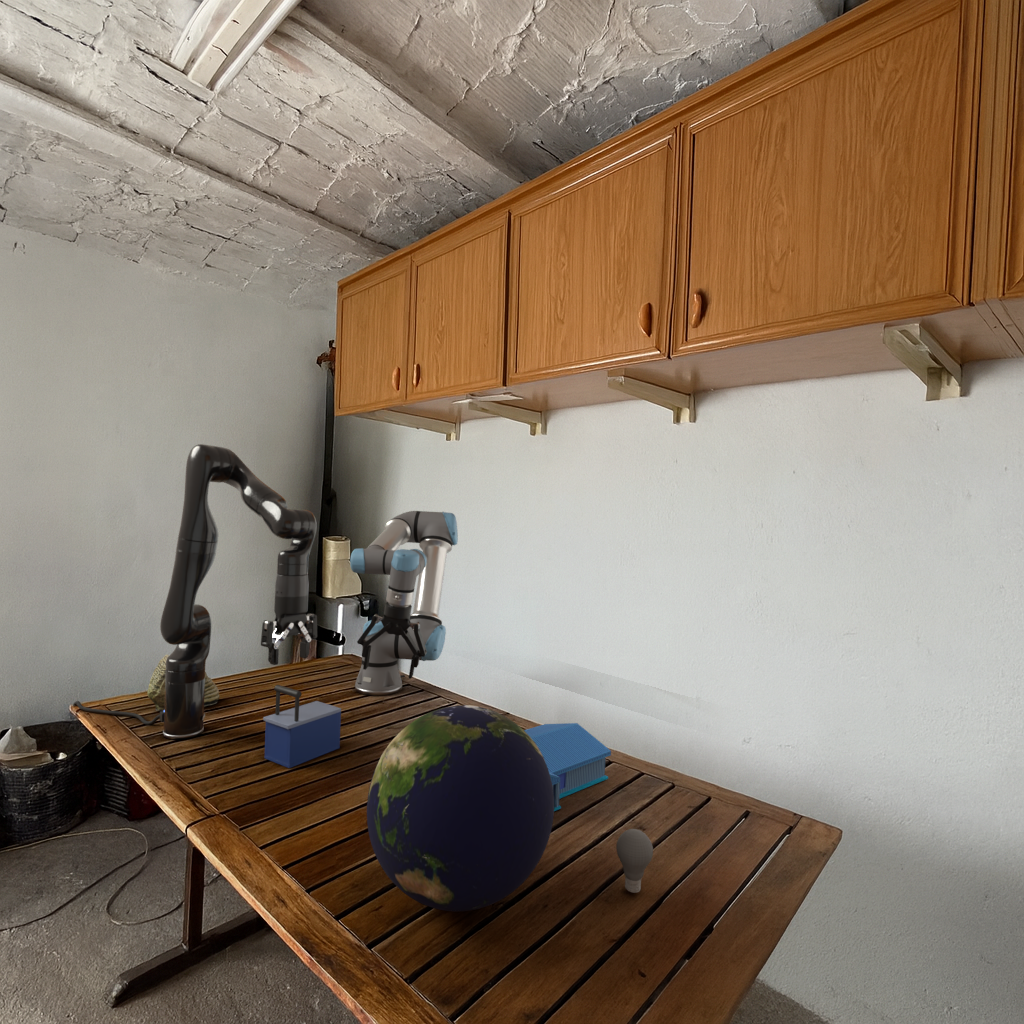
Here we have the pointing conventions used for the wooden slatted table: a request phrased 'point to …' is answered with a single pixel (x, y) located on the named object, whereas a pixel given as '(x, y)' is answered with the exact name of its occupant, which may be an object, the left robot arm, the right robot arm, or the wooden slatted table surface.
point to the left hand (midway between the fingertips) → (289, 660)
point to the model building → (570, 757)
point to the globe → (460, 808)
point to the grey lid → (298, 710)
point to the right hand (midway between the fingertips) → (388, 672)
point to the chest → (302, 740)
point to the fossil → (158, 687)
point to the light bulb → (634, 857)
